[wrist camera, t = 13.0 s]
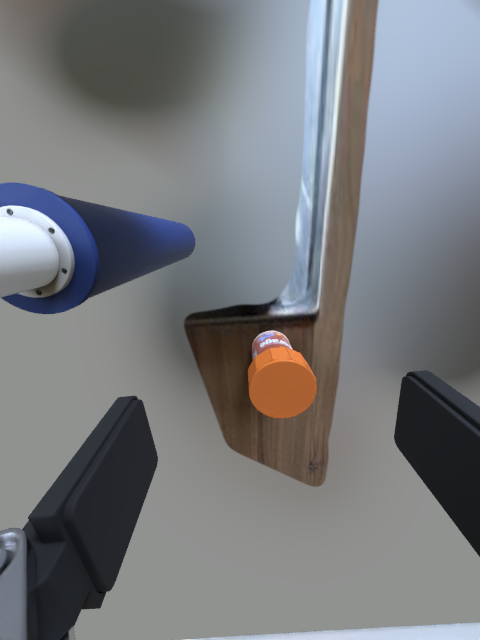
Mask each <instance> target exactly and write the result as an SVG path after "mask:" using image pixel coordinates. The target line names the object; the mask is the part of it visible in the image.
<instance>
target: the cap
mask: <svg viewBox="0 0 480 640" xmlns="http://www.w3.org/2000/svg"><path fill="white" fill-rule="evenodd" d="M248 384H249V395H250V399H251V401H252V403H253V405H254V406H255V407H256V409H257V410H259V411H260V412H261V413H263V414H265V415H267V416H269V417H273V418H289V417H293V416H296V415H298V414H300V413H302V412H303V411H305V410H306V409H307V408H308V407H309V406H310V405H311V403H312V402H313V400H314V398H315V396H316V391H317V384H316V379H315V376H314V374H313V372H312V371H311V369H310V367H309V365H308V364H307V362H306V361H305V359H304V358H303V356H302V355H301V354H300V353H299V352H296V351H294V350H292V349H289V348H287V347H278V348H269V349H267V350H265V351H264V352H262V353H260V354H259V355H257V356H255V358H254V359H253V361H252V363H251V365H250V367H249V369H248Z"/></svg>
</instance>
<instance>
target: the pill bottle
mask: <svg viewBox="0 0 480 640" xmlns="http://www.w3.org/2000/svg"><path fill="white" fill-rule="evenodd" d="M278 347H287V348H289V349H292V347H291V344H290V342H289V340H288V339H287V337H286V336H285V335H283V334H282V333H280V332H277V331H266V332H264V333H261V334H260V335H258V336H257V337H256V338H255V340H254V342H253V344H252V359H254V358H255V356H257V355H259V354H260V353H262V352H264V351H265V350H267V349H269V348H278ZM292 350H293V349H292Z"/></svg>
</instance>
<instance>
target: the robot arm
mask: <svg viewBox="0 0 480 640" xmlns="http://www.w3.org/2000/svg"><path fill="white" fill-rule="evenodd" d="M74 268H75V259H74V253H73V250H72V246H71V244H70V242H69V240H68V238H67V236H66V235H65V233H64V232H63V231H62V229H61V228H60V227H59V226H58V225H57V224H56V223H55V222H54V221H53V220H52V219H50V218H49V217H48V216H46V215H44V214H43V213H41V212H39V211H37V210H34V209H31V208H27V207H22V206H4V207H0V297H4V296H8V295H12V294H16V293H18V294H20V295H23V296H27V297H33V298H43V297H47V296H51V295H54V294H57V293H59V292H60V291H62V290H63V289H64V288H65V287H66V286H67V285H68V284H69V282H70V281H71V279H72V277H73V273H74ZM394 439H395V443H396V445H397V447H398V448H399V450H400V451H401V452H402V454H403V455H404V456H405V458H406V459H407V460H408V462H409V463H410V464H411V466H412V467H413V468H414V470H415V471H416V472H417V474H418V475H419V476H420V478H421V479H422V480H423V482H424V483H425V484H426V486H427V487H428V488H429V490H430V491H431V492H432V494H433V495H434V496H435V498H436V499H437V500H438V502H439V503H440V504H441V506H442V507H443V508H444V510H445V511H446V512H447V514H448V515H449V516H450V518H451V519H452V520H453V522H454V523H455V524H456V526H457V527H458V528H459V530H460V531H461V532H462V534H463V535H464V536H465V538H466V539H467V540H468V542H469V543H470V544H471V546H472V547H473V548H474V550H475V551H476V552H477V554H478V555H479V556H480V407H479V406H477V405H476V404H475V403H473V402H472V401H470V400H469V399H468V398H466V397H465V396H463V395H462V394H460V393H459V392H458V391H456V390H455V389H453V388H452V387H451V386H449V385H448V384H446V383H445V382H444V381H442V380H441V379H440V378H438V377H437V376H435V375H434V374H432V373H431V372H429V371H415V372H409V373H407V375H406V377H403V379H402V383H401V390H400V397H399V405H398V412H397V420H396V427H395V435H394ZM157 461H158V457H157V452H156V448H155V445H154V441H153V437H152V434H151V430H150V427H149V423H148V419H147V416H146V412H145V408H144V405H143V402H142V400H138V398H137V397H136V396H128V397H119V398H118V399H117V400H116V401H115V402H114V404H113V405H112V406H111V408H110V409H109V410H108V412H107V413H106V414H105V416H104V417H103V418H102V420H101V421H100V422H99V424H98V425H97V427H96V428H95V429H94V430H93V431H92V433H91V434H90V435H89V437H88V438H87V439H86V441H85V442H84V443H83V445H82V446H81V448H80V449H79V450H78V452H77V453H76V454H75V456H74V457H73V458H72V460H71V461H70V462H69V463H68V465H67V466H66V467H65V469H64V470H63V471H62V473H61V474H60V476H59V477H58V478H57V480H56V481H55V482H54V483H53V485H52V486H51V488H50V489H49V490H48V491H47V493H46V494H45V496H44V497H43V498H42V500H41V501H40V502H39V504H38V505H37V506H36V507H35V509H34V510H33V511H32V513H31V514H30V515H29V517H28V519H29V521H28V523H27V524H26V525H25V527H24V528H23V529H22V530H21V529H19V528H9V529H5V530H2V531H0V640H75V632H74V625H75V623H76V621H77V618H78V616H79V613H80V611H81V609H96V608H100V607H101V605H102V602H103V599H104V597H105V594H106V591H110V590H111V589H112V587H113V586H114V583H115V581H116V578H117V576H118V573H119V570H120V567H121V564H122V562H123V559H124V556H125V553H126V551H127V548H128V545H129V542H130V539H131V537H132V533H133V531H134V528H135V525H136V523H137V520H138V517H139V514H140V511H141V508H142V506H143V503H144V500H145V498H146V494H147V492H148V489H149V486H150V484H151V481H152V478H153V475H154V472H155V470H156V467H157ZM182 640H480V622H479V623H461V624H460V623H459V624H439V625H420V626H402V627H383V628H366V629H348V630H330V631H313V632H295V633H278V634H262V635H244V636H230V637H214V638H198V639H182Z"/></svg>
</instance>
